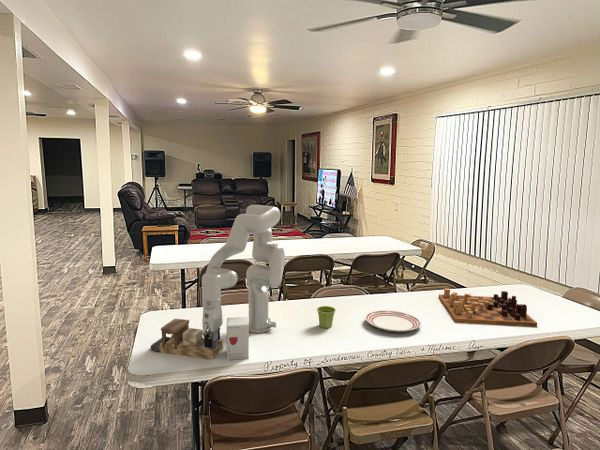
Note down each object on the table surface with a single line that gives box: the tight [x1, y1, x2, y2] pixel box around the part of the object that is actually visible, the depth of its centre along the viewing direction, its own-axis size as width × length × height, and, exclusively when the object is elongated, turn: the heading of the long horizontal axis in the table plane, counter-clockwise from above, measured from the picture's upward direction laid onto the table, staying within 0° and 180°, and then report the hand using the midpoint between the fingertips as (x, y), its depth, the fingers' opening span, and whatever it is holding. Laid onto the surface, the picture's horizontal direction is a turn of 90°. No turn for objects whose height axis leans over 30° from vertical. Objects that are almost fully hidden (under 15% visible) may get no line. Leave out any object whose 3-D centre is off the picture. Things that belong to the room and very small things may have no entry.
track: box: [150, 318, 224, 361], centre depth 182 cm, size 28×11×11 cm, turn 76°
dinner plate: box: [365, 309, 422, 333], centre depth 214 cm, size 27×27×3 cm
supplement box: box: [226, 316, 250, 361], centre depth 178 cm, size 9×9×15 cm
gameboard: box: [438, 287, 538, 327], centre depth 236 cm, size 40×40×9 cm
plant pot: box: [316, 305, 336, 329], centre depth 211 cm, size 9×9×9 cm
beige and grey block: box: [183, 327, 219, 350], centre depth 180 cm, size 14×6×8 cm, turn 76°
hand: (212, 343), depth 179 cm, fingers open, 7 cm apart
